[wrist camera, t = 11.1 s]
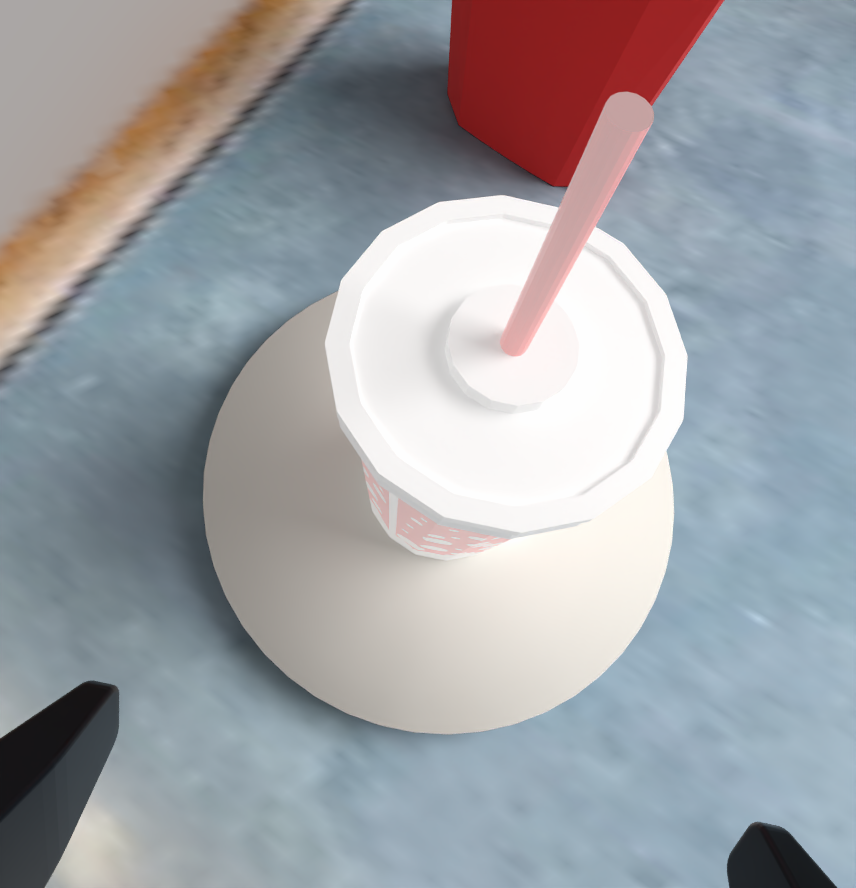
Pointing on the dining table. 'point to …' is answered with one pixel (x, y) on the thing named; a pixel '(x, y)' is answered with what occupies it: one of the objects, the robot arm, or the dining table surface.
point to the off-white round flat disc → (407, 568)
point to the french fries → (560, 69)
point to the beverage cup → (507, 361)
